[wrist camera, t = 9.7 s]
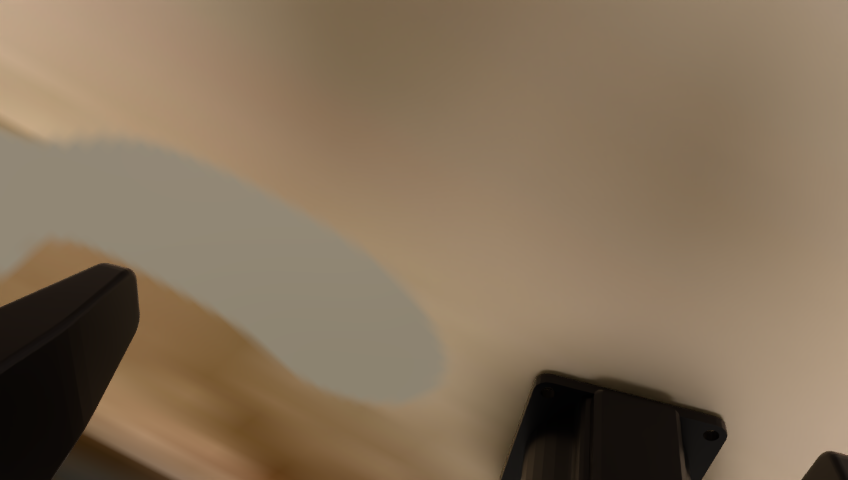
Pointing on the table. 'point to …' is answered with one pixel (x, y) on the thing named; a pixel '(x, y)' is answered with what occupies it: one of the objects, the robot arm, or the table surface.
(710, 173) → the table surface
